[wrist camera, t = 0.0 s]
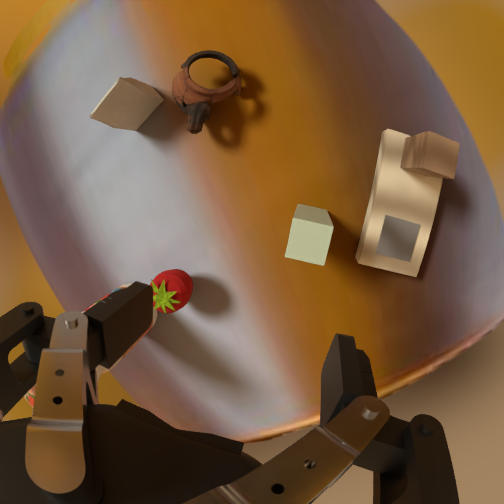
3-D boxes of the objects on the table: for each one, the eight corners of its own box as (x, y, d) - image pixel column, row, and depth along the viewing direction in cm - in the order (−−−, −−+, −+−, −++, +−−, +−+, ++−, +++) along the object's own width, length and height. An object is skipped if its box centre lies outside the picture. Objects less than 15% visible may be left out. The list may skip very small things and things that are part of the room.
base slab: (382, 131, 33) (407, 118, 23) (438, 150, 32) (477, 147, 22) (355, 256, 39) (369, 287, 29) (409, 269, 38) (437, 301, 27)
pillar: (298, 203, 39) (293, 217, 27) (326, 210, 38) (333, 226, 27) (292, 231, 40) (284, 256, 28) (320, 237, 39) (324, 265, 28)
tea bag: (164, 99, 38) (127, 85, 28) (135, 130, 40) (95, 125, 31) (151, 86, 37) (114, 71, 28) (124, 116, 40) (84, 109, 30)
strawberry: (158, 277, 46) (125, 302, 37) (187, 250, 44) (156, 272, 34) (181, 304, 47) (153, 334, 37) (212, 279, 44) (187, 308, 35)
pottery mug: (175, 74, 37) (178, 42, 29) (235, 79, 39) (249, 50, 31) (165, 142, 37) (165, 119, 29) (231, 146, 40) (246, 125, 32)
